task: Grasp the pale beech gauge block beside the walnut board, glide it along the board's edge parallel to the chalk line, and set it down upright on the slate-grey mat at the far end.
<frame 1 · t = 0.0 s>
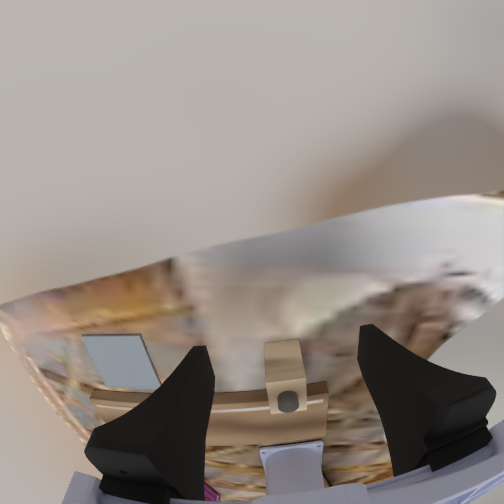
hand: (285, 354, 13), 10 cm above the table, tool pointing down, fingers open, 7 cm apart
candy bar box: (195, 482, 36), on the table
walnut board: (206, 416, 29), on the table
beech gauge: (282, 357, 25), on the table
slate mat: (121, 362, 26), on the table
ammunition clip: (318, 477, 35), on the table, touching arm
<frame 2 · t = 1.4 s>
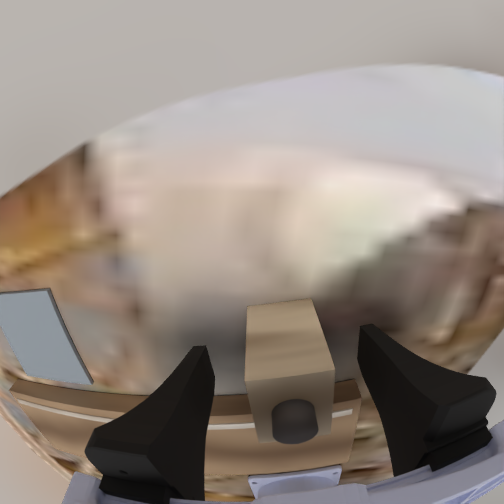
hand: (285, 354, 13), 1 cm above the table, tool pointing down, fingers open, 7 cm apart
walnut board: (163, 431, 17), on the table
beech gauge: (282, 336, 14), on the table
slate mat: (36, 338, 15), on the table
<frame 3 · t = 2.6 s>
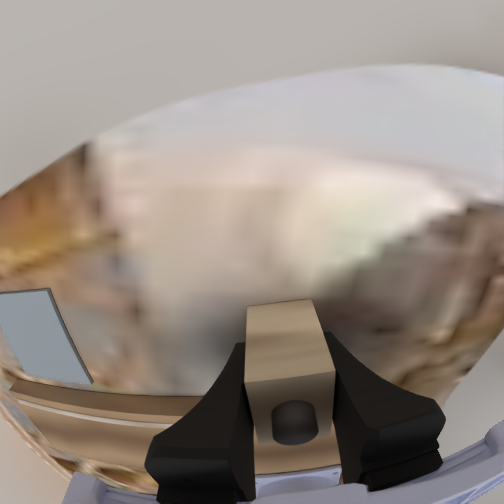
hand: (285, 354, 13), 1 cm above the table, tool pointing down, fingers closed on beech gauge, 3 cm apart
walnut board: (163, 431, 17), on the table
beech gauge: (282, 336, 14), on the table, touching gripper
slate mat: (35, 338, 15), on the table
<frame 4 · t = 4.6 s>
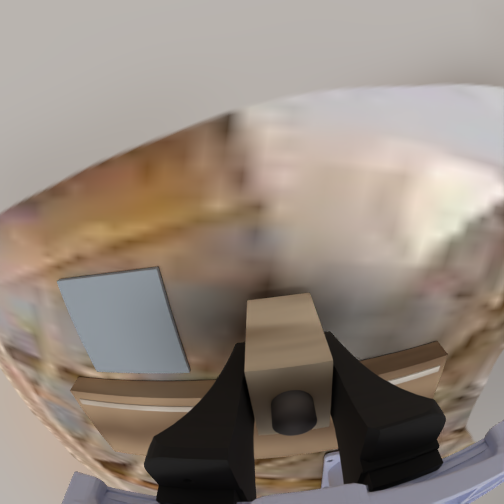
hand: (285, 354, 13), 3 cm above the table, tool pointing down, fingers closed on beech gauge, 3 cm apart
walnut board: (256, 415, 18), on the table
beech gauge: (282, 330, 15), point 1 cm above the table, touching gripper
slate mat: (121, 326, 16), on the table
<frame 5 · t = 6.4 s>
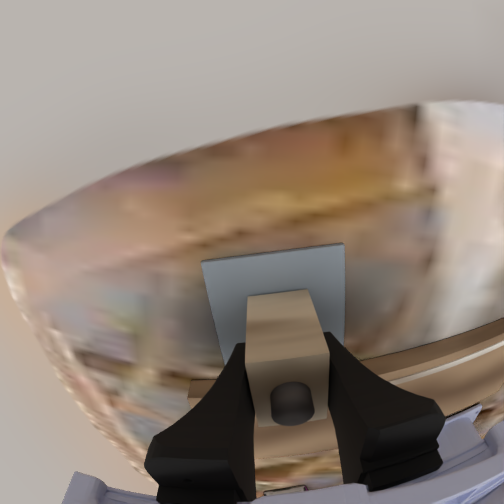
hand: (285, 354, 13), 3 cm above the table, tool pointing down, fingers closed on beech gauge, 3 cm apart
candy bar box: (296, 499, 25), on the table
walnut board: (383, 393, 18), on the table
beech gauge: (281, 326, 15), point 1 cm above the table, touching gripper
slate mat: (279, 313, 15), on the table
when the fingers open (2 cm above the table, at t = 7.0 s): beech gauge stays where it is, resting on slate mat.
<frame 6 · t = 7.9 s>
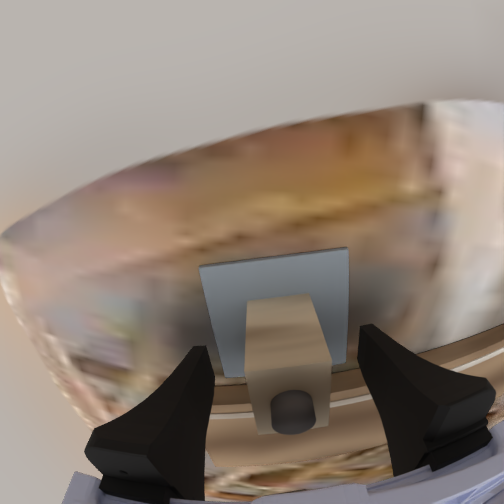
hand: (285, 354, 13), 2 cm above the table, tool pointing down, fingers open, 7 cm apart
walnut board: (386, 399, 17), on the table
beech gauge: (281, 330, 15), resting on slate mat
slate mat: (280, 319, 15), on the table
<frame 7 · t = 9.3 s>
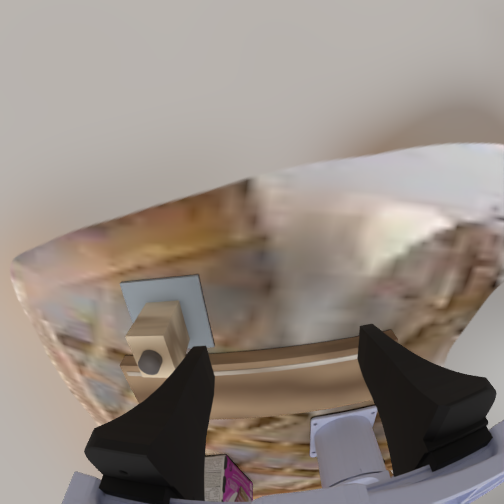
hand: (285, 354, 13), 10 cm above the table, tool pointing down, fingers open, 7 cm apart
candy bar box: (226, 469, 34), on the table
walnut board: (259, 380, 27), on the table
beech gauge: (168, 321, 24), resting on slate mat
slate mat: (167, 315, 24), on the table
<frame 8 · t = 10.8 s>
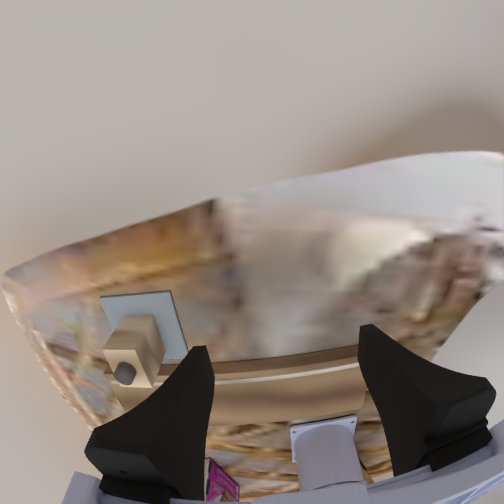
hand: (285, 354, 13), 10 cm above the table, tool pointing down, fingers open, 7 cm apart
candy bar box: (213, 472, 35), on the table
walnut board: (235, 390, 27), on the table
beech gauge: (145, 334, 25), resting on slate mat
slate mat: (144, 327, 25), on the table
ammunition clip: (343, 461, 34), on the table, touching arm
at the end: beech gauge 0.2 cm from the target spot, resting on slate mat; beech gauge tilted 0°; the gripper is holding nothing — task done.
